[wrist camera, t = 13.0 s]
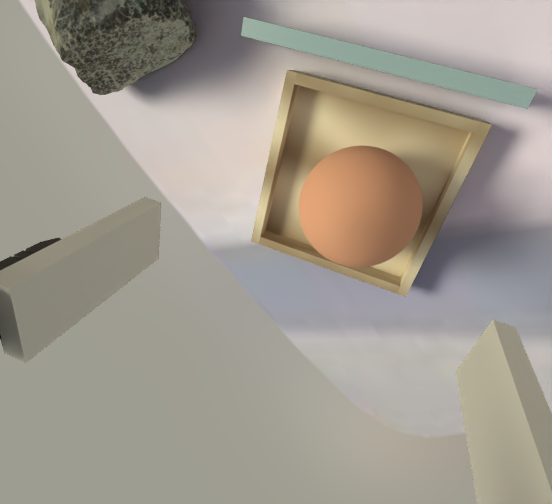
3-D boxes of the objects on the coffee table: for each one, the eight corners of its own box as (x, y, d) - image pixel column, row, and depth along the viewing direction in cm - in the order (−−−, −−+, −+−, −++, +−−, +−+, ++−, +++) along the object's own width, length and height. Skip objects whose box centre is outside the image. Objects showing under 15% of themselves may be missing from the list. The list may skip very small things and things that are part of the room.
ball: (316, 121, 25) (316, 149, 18) (425, 148, 26) (465, 186, 19) (290, 221, 29) (282, 274, 22) (384, 244, 30) (405, 303, 23)
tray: (294, 70, 26) (287, 70, 24) (485, 121, 24) (491, 124, 22) (259, 232, 32) (251, 241, 31) (405, 284, 30) (405, 296, 28)
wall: (265, 24, 25) (243, 16, 22) (517, 86, 22) (538, 89, 19) (262, 40, 26) (240, 35, 22) (508, 103, 23) (527, 109, 19)
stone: (72, 98, 21) (-1, -140, 16) (61, 98, 29) (10, -63, 24) (222, 83, 25) (196, -109, 21) (177, 87, 33) (152, -51, 28)
